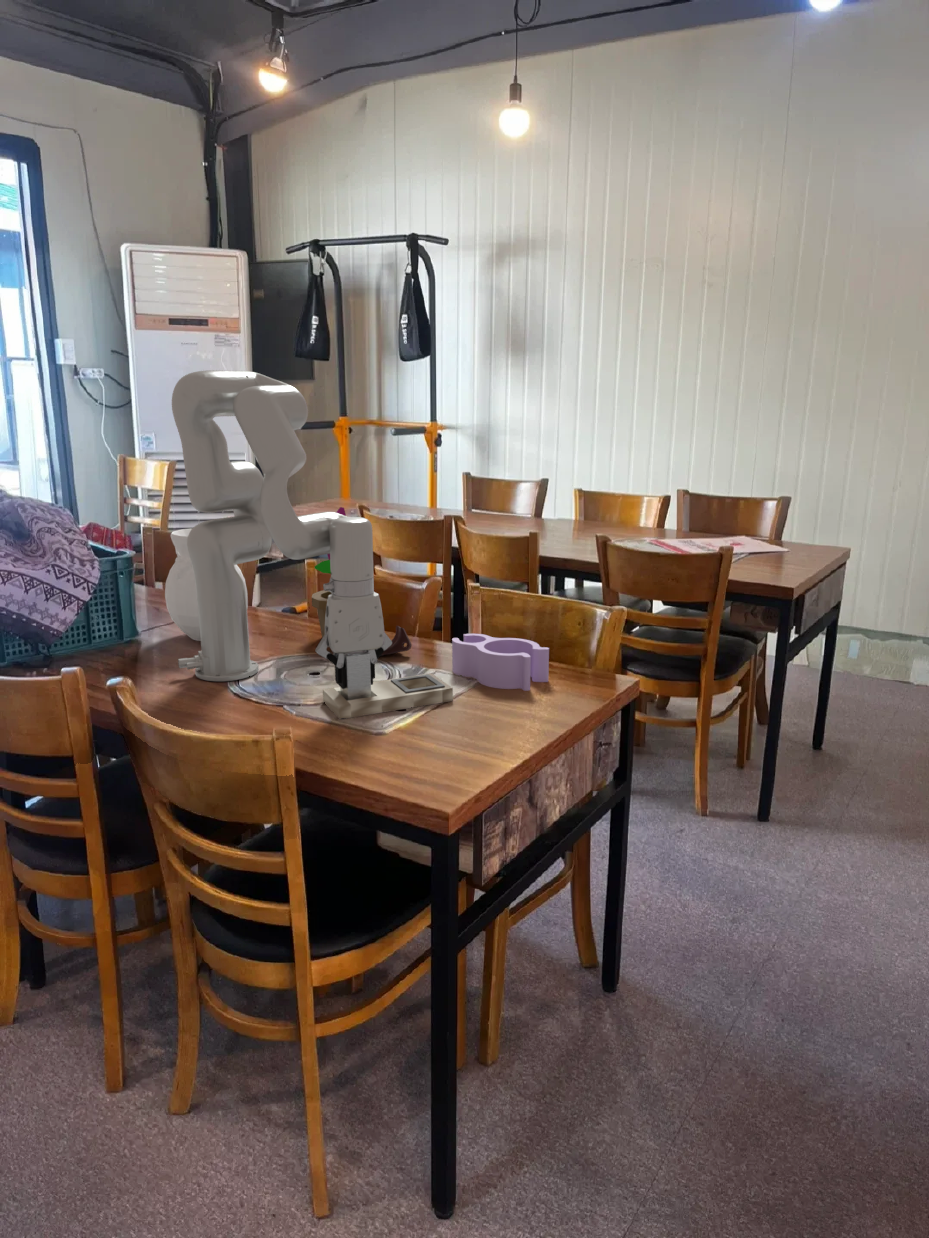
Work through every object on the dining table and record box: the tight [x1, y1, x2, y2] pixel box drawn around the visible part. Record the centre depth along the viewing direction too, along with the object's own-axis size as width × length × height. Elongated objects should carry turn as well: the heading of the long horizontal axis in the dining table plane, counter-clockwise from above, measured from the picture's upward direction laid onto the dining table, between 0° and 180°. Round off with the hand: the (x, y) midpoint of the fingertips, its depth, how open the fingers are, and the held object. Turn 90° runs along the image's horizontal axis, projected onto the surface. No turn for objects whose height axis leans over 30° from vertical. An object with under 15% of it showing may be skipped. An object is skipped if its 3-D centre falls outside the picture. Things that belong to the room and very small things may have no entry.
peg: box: [339, 650, 371, 701], centre depth 167 cm, size 4×4×10 cm
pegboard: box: [322, 672, 454, 720], centre depth 170 cm, size 22×10×3 cm, turn 115°
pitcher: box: [164, 527, 249, 642], centre depth 212 cm, size 19×18×25 cm
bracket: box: [331, 625, 412, 657], centre depth 200 cm, size 6×17×10 cm, turn 88°
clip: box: [451, 633, 550, 692], centre depth 184 cm, size 20×12×7 cm, turn 52°
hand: (355, 683), depth 167 cm, fingers closed on peg, 4 cm apart
